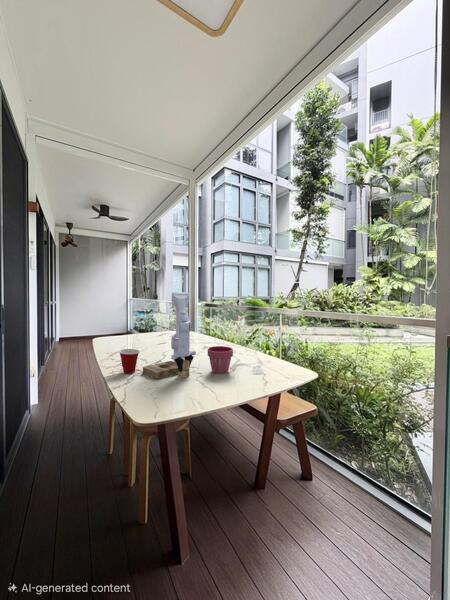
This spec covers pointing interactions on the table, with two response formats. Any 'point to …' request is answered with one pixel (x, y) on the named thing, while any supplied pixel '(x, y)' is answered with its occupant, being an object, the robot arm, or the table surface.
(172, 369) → the walnut socket block
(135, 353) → the plastic cup
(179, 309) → the robot arm
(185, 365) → the oak peg
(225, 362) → the plant pot
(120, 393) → the table surface
